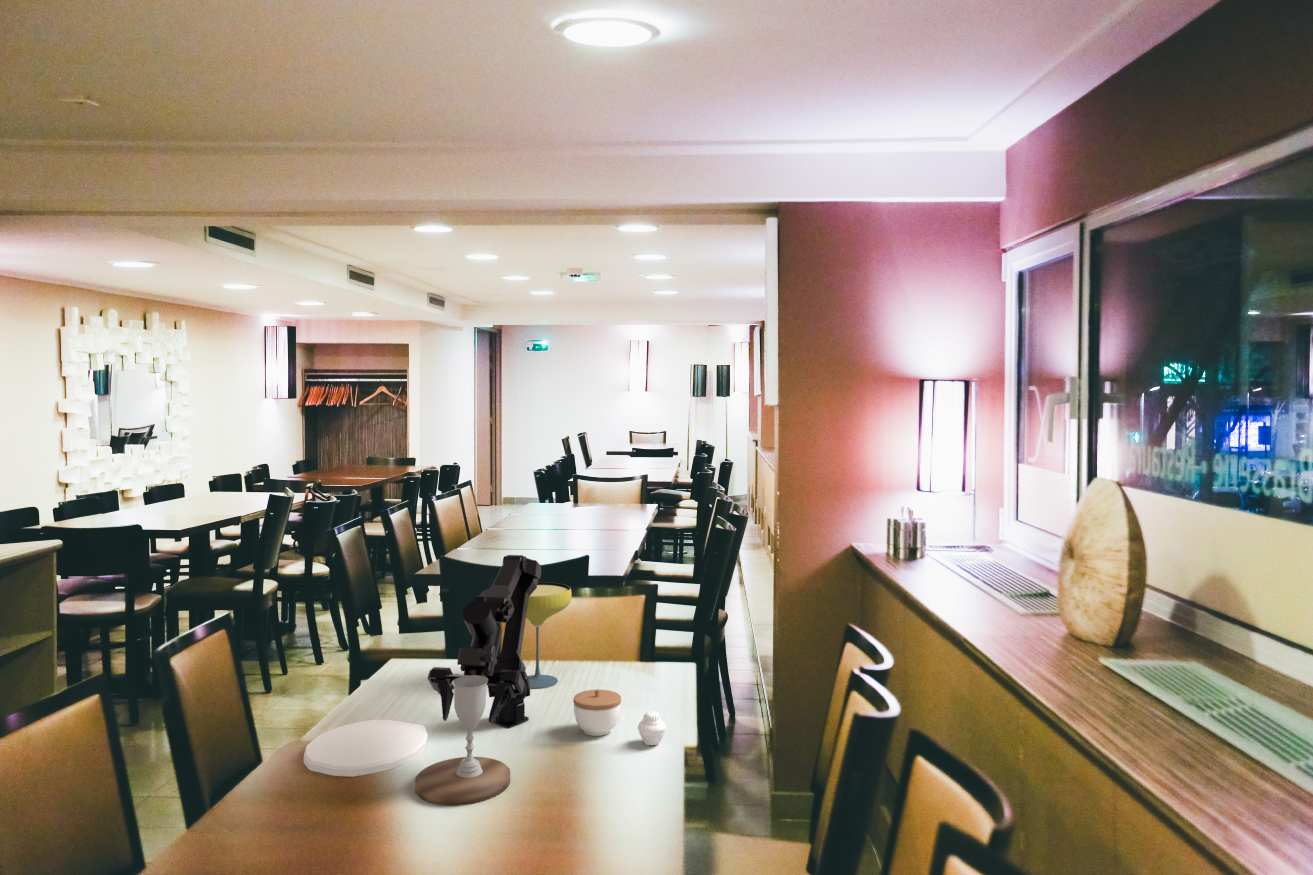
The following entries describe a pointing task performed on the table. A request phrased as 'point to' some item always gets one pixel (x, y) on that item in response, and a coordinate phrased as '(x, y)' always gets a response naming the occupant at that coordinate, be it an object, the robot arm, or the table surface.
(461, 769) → the chalice
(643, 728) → the muffin
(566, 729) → the table surface
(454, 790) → the serving board
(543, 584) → the cocktail glass
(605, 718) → the lidded jar
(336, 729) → the decorative plate
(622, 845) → the table surface
